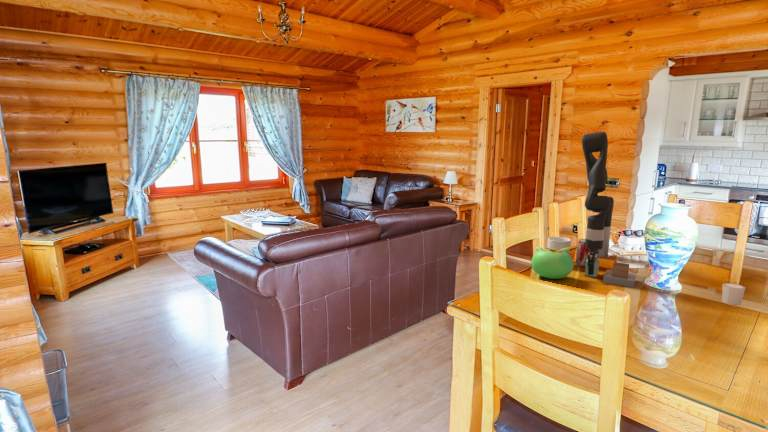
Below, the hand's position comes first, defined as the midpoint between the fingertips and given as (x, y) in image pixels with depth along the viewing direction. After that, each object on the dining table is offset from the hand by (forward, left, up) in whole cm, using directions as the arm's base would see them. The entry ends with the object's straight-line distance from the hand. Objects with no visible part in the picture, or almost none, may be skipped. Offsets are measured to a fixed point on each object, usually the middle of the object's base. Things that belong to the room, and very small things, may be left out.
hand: (591, 272), depth 198 cm
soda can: (-16, -6, -1) cm, 17 cm away
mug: (-12, -18, -1) cm, 22 cm away
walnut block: (+3, +12, +2) cm, 13 cm away
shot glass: (+7, +51, -1) cm, 52 cm away
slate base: (+3, +12, -1) cm, 12 cm away
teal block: (0, 0, -1) cm, 1 cm away
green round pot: (+14, -15, -1) cm, 21 cm away
